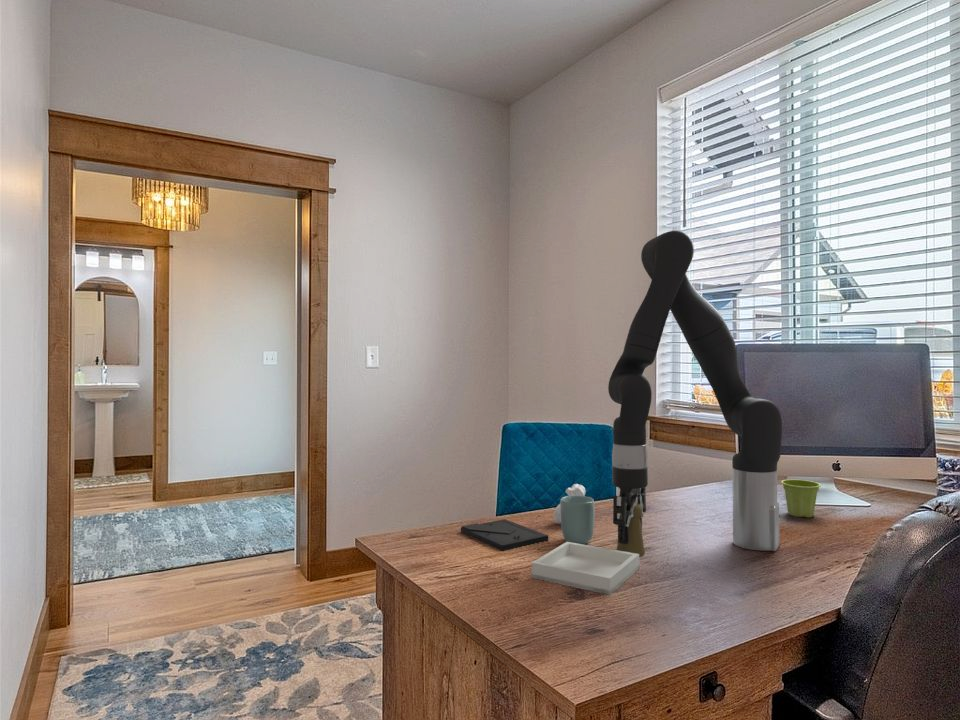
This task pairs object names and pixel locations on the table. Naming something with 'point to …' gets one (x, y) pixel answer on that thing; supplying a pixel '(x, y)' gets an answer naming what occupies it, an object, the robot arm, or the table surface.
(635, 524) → the olive rounded piece
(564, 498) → the cup
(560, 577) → the tray
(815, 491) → the plant pot
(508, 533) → the picture frame
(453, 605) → the table surface
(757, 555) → the table surface
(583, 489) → the bust
